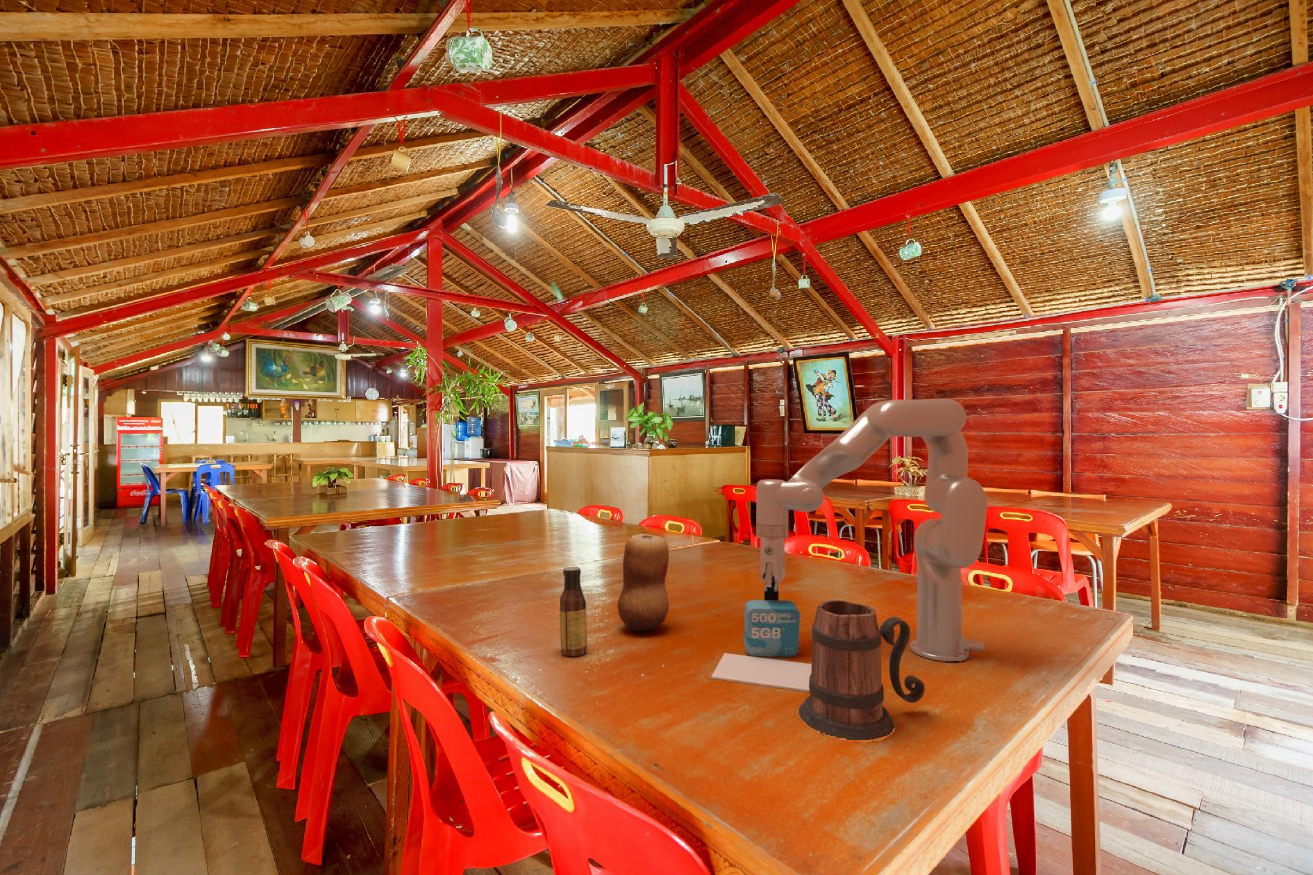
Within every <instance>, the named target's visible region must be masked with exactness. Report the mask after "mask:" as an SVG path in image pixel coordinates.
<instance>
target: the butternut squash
mask: <svg viewBox="0 0 1313 875" xmlns="http://www.w3.org/2000/svg"><path fill="white" fill-rule="evenodd" d="M669 552H670V551H669V546H668V542H667V540H666V539H665V538H663V537H661V536H657V535H653V534H647V533H639V534H634V535H632V536H630V537H629V538H628V539H627V541H626V543H625V545H624V552H623V559H622V571H623V572H622V574H623V575H622V579H623V583H622V584H623V585H622V590H621V592H620V594H619V597H618V601H617V605H616V607H617V611H618V617H619V618H620V620H621V621H622V622H623V623H624V625H626V627H627V628H629V629H630V630H632V631H633V632H647V631H652V630H654V629H656V627H658V626H660V625H661V624H663V623H664V621H665V620H666V618H667V615H668V613H669V608H670V607H669V606H670V603H669V602H670V601H669V597H668V592H667V589H666V577H667V573H668V572H667V571H668V567H669V559H670V555H669Z"/></svg>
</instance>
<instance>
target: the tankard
mask: <svg viewBox="0 0 1313 875" xmlns="http://www.w3.org/2000/svg"><path fill="white" fill-rule="evenodd" d="M897 625H899V633H898V637H897V638H896V641H895V640H894V639H895V629H894V628H895V627H896V626H897ZM910 636H911V629H910V626H909V624H908V622H906V621H905V620H903V619H902V618H899V617H897V616H891V617H888V618H886V620H884V622H883V623H882V624H881V625H880V626H879V623H878V618H877V611H876V610H875V609H874V608H872V607H871V606H868V605H865V604H861V603H854V602H850V601H846V600H839V599H837V600H835V599H834V600H833V599H832V600H826V601H823V602H822V603H820V604H818V605H817V606H816V612H815V618H814V623H813V624H812V626H811V637H812V648H811V651H812V653H811V664H812V668H811V675H810V678H809V690H810V691H809V695H808V696H807V697H806V698H805V700H804V701H803V703H802V704H800V705H799V707H800V708H799V707H798V709H799V715H800V717H801V719H802V720H803V721H804V722H806V724H807V725H808V726H810V727H811V728H813V729H815V730H817V731H820V733H825V734H826V735H830V736H835V737H837V738H846V739H847V740H871V739H872V740H873V739H877V738H881V737H884V736H887V735H890V733H892V731H893V729H894V728H895V725H896V724H895V725H894V722H895V721H894V719H893V718H892V717H891V716H890V713H889V712H888V710H887V709H886V707H885V706H884V704H883V701H884V699H885V693H884V692H885V690H884V684H882V661H881V660H882V658H881V644H882V639H883V640H884V641H885V642H886V643H887V644H889V645H891V646H893V647H892V650H891V652H890V657H889V663H888V664H889V665H888V670H889V671H888V672H889V678H890V682H891V687H892V689H893V691H894V692H895V693H896V694H897V696H898V697H900V699H902V700H903V701H905V702H907V703H911V704H914V703H917V702H918V701H920V700H921V699H922V698H923V696H924V695H925V684H924V682H923V681H922V680H921V679H919V678H918V677H916V676H915V675H907V676H906V677H905V678H904V684H903V685H904V687H905V688H906V690H908V692H909V693H905V692H904V690H903V688H902V684H901V678H900V665H901V659H902V656H903V653H904V652H905V650H906V647H907V645H908V644H909V640H910ZM913 685H914V686H913ZM892 719H893V720H892ZM893 721H894V722H893Z"/></svg>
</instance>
